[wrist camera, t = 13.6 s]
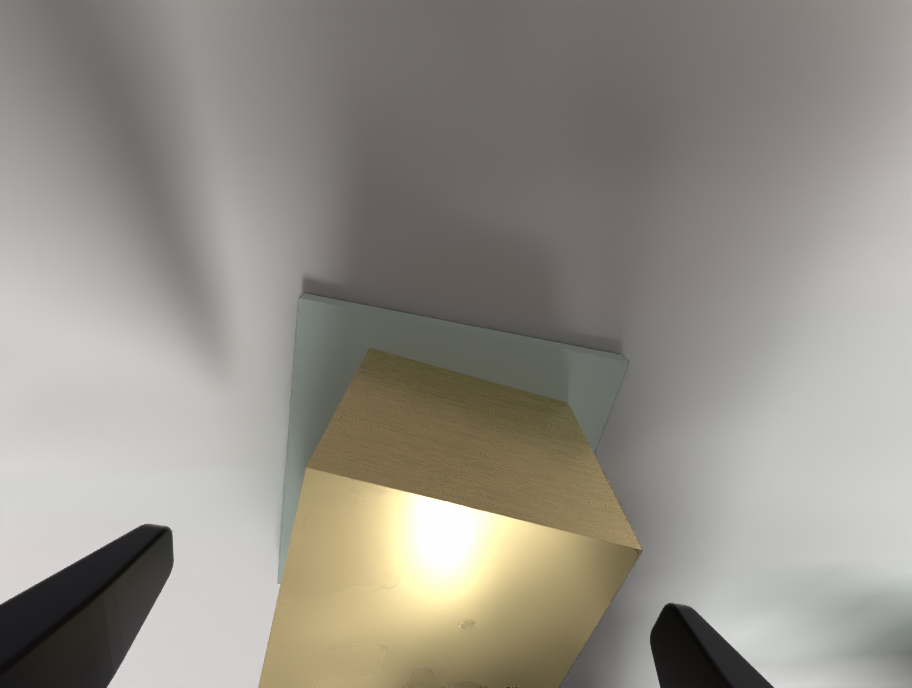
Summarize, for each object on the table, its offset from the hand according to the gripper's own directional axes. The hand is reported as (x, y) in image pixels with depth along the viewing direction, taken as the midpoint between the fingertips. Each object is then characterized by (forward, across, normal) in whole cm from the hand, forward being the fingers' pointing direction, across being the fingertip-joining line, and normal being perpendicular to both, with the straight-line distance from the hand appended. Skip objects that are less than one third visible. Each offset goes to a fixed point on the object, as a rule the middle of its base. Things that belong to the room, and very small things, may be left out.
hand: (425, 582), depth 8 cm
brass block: (+3, 0, 0) cm, 3 cm away
